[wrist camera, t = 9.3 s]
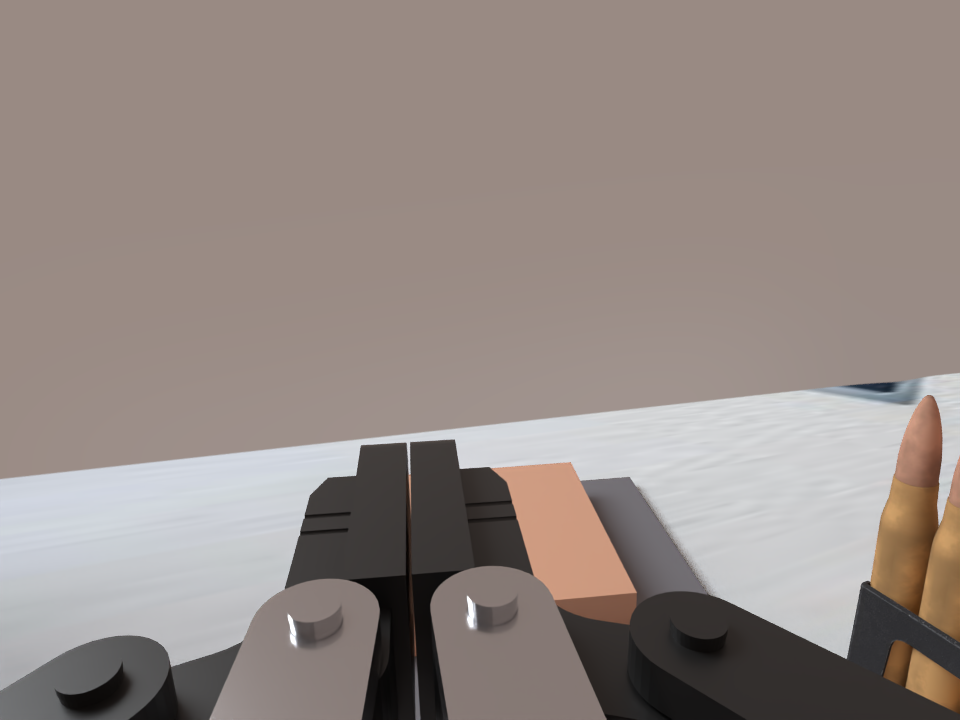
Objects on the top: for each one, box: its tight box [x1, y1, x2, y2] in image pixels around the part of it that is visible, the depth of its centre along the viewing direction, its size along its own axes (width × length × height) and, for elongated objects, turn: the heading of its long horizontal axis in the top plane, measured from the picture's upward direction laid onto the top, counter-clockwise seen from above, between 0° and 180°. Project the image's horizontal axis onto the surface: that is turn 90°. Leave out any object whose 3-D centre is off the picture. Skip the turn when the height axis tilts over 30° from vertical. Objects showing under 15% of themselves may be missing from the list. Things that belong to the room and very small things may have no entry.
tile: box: [409, 462, 637, 656], centre depth 33 cm, size 10×2×12 cm
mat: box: [415, 477, 708, 720], centre depth 32 cm, size 18×18×1 cm
